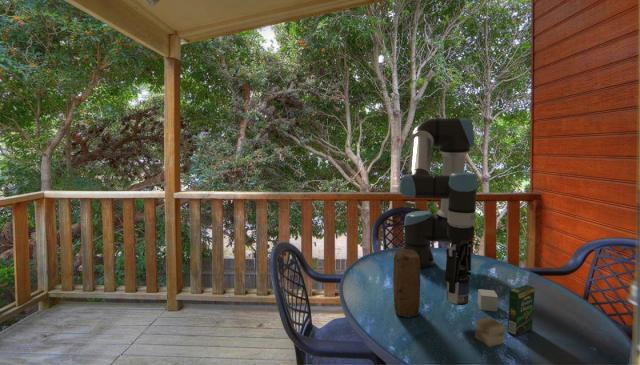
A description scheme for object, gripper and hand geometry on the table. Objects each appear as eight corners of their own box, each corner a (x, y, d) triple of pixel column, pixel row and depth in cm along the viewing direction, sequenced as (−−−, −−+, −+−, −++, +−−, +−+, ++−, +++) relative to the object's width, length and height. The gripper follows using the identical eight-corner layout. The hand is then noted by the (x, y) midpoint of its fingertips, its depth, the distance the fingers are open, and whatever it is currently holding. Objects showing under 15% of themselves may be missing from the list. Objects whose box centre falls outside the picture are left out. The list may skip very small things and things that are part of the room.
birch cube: (475, 337, 97) (475, 320, 96) (488, 333, 99) (489, 317, 98) (489, 347, 92) (490, 329, 92) (503, 343, 94) (504, 326, 93)
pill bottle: (471, 300, 105) (472, 266, 104) (463, 308, 101) (465, 272, 99) (451, 294, 109) (452, 261, 108) (443, 301, 105) (444, 267, 103)
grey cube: (477, 303, 117) (478, 289, 117) (493, 304, 116) (494, 290, 116) (480, 309, 113) (481, 295, 112) (497, 311, 111) (498, 297, 111)
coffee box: (515, 337, 96) (518, 293, 95) (506, 332, 99) (509, 289, 97) (533, 330, 100) (536, 287, 99) (523, 325, 103) (526, 283, 101)
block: (420, 319, 106) (422, 257, 104) (396, 318, 107) (397, 256, 105) (413, 303, 117) (414, 246, 115) (391, 302, 118) (392, 246, 115)
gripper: (460, 233, 92) (456, 314, 95) (485, 221, 106) (481, 292, 109) (434, 228, 98) (431, 305, 101) (461, 217, 111) (458, 285, 114)
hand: (457, 298), depth 105 cm, fingers closed on pill bottle, 6 cm apart
